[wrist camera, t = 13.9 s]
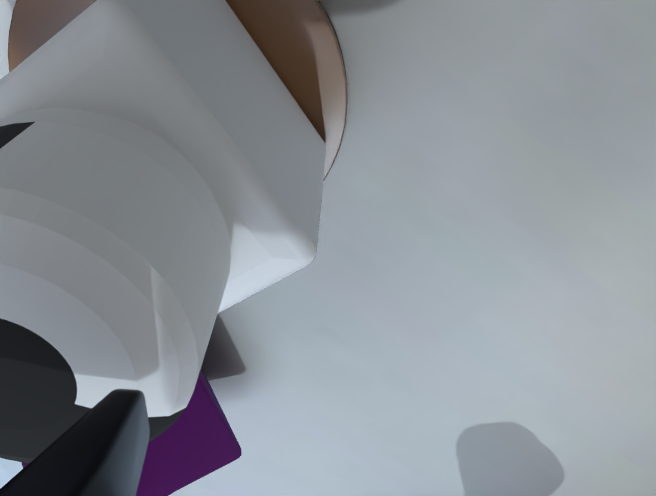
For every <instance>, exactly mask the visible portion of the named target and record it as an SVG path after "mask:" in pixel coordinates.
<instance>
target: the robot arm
mask: <svg viewBox="0 0 656 496" xmlns="http://www.w3.org/2000/svg"><path fill="white" fill-rule="evenodd" d="M149 435H150V427H149V420H148V414H147V407H146V401H145V396H144V394H143V392H142V391H140V390H133V389H115V390H113V391H111V392H110V393H109V394H108V395H106V396H105V397H104V398H103V399H102V400H101V401H100V402H98V403H97V404H96V405H95V406H94V407H93V408H92V409H91V410H89V411H88V412H87V413H86V414H85V415H84V416H83V417H81V418H80V419H79V420H78V421H77V422H76V423H75V424H74V425H72V426H71V427H70V428H69V429H68V430H67V431H66V432H64V433H63V434H62V435H61V436H60V437H59V438H58V439H56V440H55V441H54V442H53V443H52V444H51V445H50V446H49V447H47V448H46V449H45V450H44V451H43V452H42V453H41V454H39V455H38V456H37V457H36V458H35V459H34V460H33V461H32V462H30V463H29V464H28V465H27V466H26V467H25V468H24V469H22V470H21V471H20V472H19V473H18V474H17V475H16V476H15V477H13V478H12V479H11V480H10V481H9V482H8V483H7V484H5V485H4V486H3V487H2V488H1V489H0V496H136V492H137V488H138V484H139V480H140V476H141V472H142V468H143V463H144V459H145V455H146V451H147V447H148V442H149Z"/></svg>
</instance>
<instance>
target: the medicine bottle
mask: <svg viewBox="0 0 656 496" xmlns="http://www.w3.org/2000/svg"><path fill="white" fill-rule="evenodd" d="M325 156H326V145H325V143H324V141H323V140H322V138H321V137H320V135H319V134H318V132H317V131H316V130H315V128H314V127H313V125H312V124H311V122H310V121H309V119H308V118H307V117H306V115H305V114H304V112H303V111H302V109H301V108H300V107H299V105H298V104H297V102H296V101H295V99H294V98H293V97H292V95H291V94H290V92H289V91H288V89H287V88H286V86H285V85H284V84H283V82H282V81H281V79H280V78H279V76H278V75H277V74H276V72H275V71H274V69H273V68H272V66H271V65H270V64H269V62H268V61H267V59H266V58H265V56H264V55H263V54H262V52H261V51H260V49H259V48H258V46H257V45H256V43H255V42H254V41H253V39H252V38H251V36H250V35H249V33H248V32H247V31H246V29H245V28H244V26H243V25H242V23H241V22H240V21H239V19H238V18H237V16H236V15H235V13H234V12H233V10H232V9H231V8H230V6H229V5H228V3H227V2H226V0H97V1H95V2H94V3H93V4H92V5H91V6H89V7H88V8H87V9H86V10H85V11H83V12H82V13H81V14H80V15H78V16H77V17H76V18H75V19H74V20H72V21H71V22H70V23H69V24H68V25H66V26H65V27H64V28H63V29H62V30H60V31H59V32H58V33H57V34H56V35H54V36H53V37H52V38H51V39H49V40H48V41H47V42H46V43H45V44H43V45H42V46H41V47H40V48H39V49H37V50H36V51H35V52H34V53H33V54H31V55H30V56H29V57H28V58H26V59H25V60H24V61H23V62H22V63H20V64H19V65H18V66H17V67H16V68H14V69H13V70H12V71H11V72H10V73H8V74H7V75H6V76H5V77H3V78H2V79H1V80H0V458H4V459H8V460H14V461H19V462H24V463H30V462H32V461H33V460H34V459H35V458H36V457H37V456H38V455H39V454H41V453H42V452H43V451H44V450H45V449H46V448H47V447H49V446H50V445H51V444H52V443H53V442H54V441H55V440H56V439H58V438H59V437H60V436H61V435H62V434H63V433H64V432H66V431H67V430H68V429H69V428H70V427H71V426H72V425H74V424H75V423H76V422H77V421H78V420H79V419H80V418H81V417H83V416H84V415H85V414H86V413H87V412H88V411H89V410H91V409H92V408H93V407H94V406H95V405H96V404H97V403H98V402H100V401H101V400H102V399H103V398H104V397H105V396H106V395H108V394H109V393H110V392H111V391H113V390H115V389H133V390H140V391H142V392H143V394H144V396H145V401H146V407H147V414H148V420H149V427H150V435H149V442H150V441H151V440H153V439H154V438H156V437H157V436H159V435H160V434H162V433H163V432H165V431H166V430H167V429H168V428H169V427H170V426H171V425H172V424H173V423H174V422H175V421H177V419H178V418H179V417H180V415H181V414H182V412H183V411H184V410H185V408H186V407H187V405H188V403H189V401H190V398H191V396H192V394H193V392H194V389H195V385H196V382H197V379H198V376H199V372H200V369H201V366H202V363H203V359H204V356H205V353H206V350H207V346H208V343H209V340H210V337H211V333H212V330H213V327H214V324H215V320H216V317H217V314H218V313H220V312H222V311H224V310H225V309H227V308H229V307H231V306H233V305H235V304H237V303H239V302H240V301H242V300H244V299H246V298H248V297H250V296H252V295H253V294H255V293H257V292H259V291H261V290H263V289H265V288H266V287H268V286H270V285H272V284H274V283H276V282H278V281H280V280H281V279H283V278H285V277H287V276H289V275H291V274H293V273H294V272H296V271H298V270H300V269H302V268H304V267H306V266H308V265H309V264H310V263H311V262H312V261H313V260H314V258H315V256H316V251H317V242H318V231H319V220H320V210H321V199H322V188H323V177H324V167H325Z"/></svg>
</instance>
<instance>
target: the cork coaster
mask: <svg viewBox="0 0 656 496" xmlns="http://www.w3.org/2000/svg"><path fill="white" fill-rule="evenodd" d="M95 1H97V0H17V1H16V4H15V7H14V10H13V14H12V19H11V25H10V30H9V43H8V61H9V72H11V71H12V70H13V69H14V68H16V67H17V66H18V65H19V64H20V63H22V62H23V61H24V60H25V59H26V58H28V57H29V56H30V55H31V54H33V53H34V52H35V51H36V50H37V49H39V48H40V47H41V46H42V45H43V44H45V43H46V42H47V41H48V40H49V39H51V38H52V37H53V36H54V35H56V34H57V33H58V32H59V31H60V30H62V29H63V28H64V27H65V26H66V25H68V24H69V23H70V22H71V21H72V20H74V19H75V18H76V17H77V16H78V15H80V14H81V13H82V12H83V11H85V10H86V9H87V8H88V7H89V6H91V5H92V4H93V3H94V2H95ZM226 2H227V3H228V5H229V6H230V8H231V9H232V10H233V12H234V13H235V15H236V16H237V18H238V19H239V21H240V22H241V23H242V25H243V26H244V28H245V29H246V31H247V32H248V33H249V35H250V36H251V38H252V39H253V41H254V42H255V43H256V45H257V46H258V48H259V49H260V51H261V52H262V54H263V55H264V56H265V58H266V59H267V61H268V62H269V64H270V65H271V66H272V68H273V69H274V71H275V72H276V74H277V75H278V76H279V78H280V79H281V81H282V82H283V84H284V85H285V86H286V88H287V89H288V91H289V92H290V94H291V95H292V97H293V98H294V99H295V101H296V102H297V104H298V105H299V107H300V108H301V109H302V111H303V112H304V114H305V115H306V117H307V118H308V119H309V121H310V122H311V124H312V125H313V127H314V128H315V130H316V131H317V132H318V134H319V135H320V137H321V138H322V140H323V141H324V143H325V145H326V156H325V167H324V177H323V181H324V180H325V178H326V176H327V174H328V172H329V171H330V169H331V167H332V165H333V163H334V161H335V158H336V156H337V153H338V150H339V148H340V145H341V141H342V137H343V133H344V128H345V122H346V111H347V83H346V74H345V69H344V63H343V57H342V54H341V51H340V48H339V44H338V41H337V38H336V35H335V32H334V30H333V28H332V26H331V24H330V22H329V19H328V17H327V15H326V13H325V11H324V9H323V8H322V6H321V5H320V3H319V1H318V0H226Z"/></svg>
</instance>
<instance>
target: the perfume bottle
mask: <svg viewBox="0 0 656 496" xmlns="http://www.w3.org/2000/svg"><path fill="white" fill-rule="evenodd" d="M240 456H241V447H240V445H239V443H238V441H237V439H236V437H235V435H234V433H233V431H232V429H231V427H230V425H229V423H228V421H227V419H226V417H225V415H224V413H223V411H222V409H221V407H220V405H219V403H218V400H217V398H216V396H215V394H214V392H213V390H212V388H211V386H210V384H209V382H208V380H207V378H206V376H205V374H204V373H203V371H202V369H200V372H199V376H198V379H197V382H196V385H195V389H194V392H193V394H192V396H191V398H190V401H189V403H188V405H187V407H186V408H185V410H184V411H183V412H182V414H181V415H180V417H179V418H178V419H177V421H175V422H174V423H173V424H172V425H171V426H170V427H169V428H168V429H167V430H166V431H165V432H163V433H162V434H160V435H159V436H157V437H156V438H154V439H153V440H151V441H150V442H148V447H147V451H146V455H145V459H144V463H143V468H142V472H141V476H140V480H139V484H138V488H137V492H136V496H168V495H170V494H172V493H173V492H175V491H177V490H179V489H181V488H182V487H184V486H186V485H188V484H190V483H192V482H194V481H196V480H198V479H200V478H202V477H204V476H206V475H207V474H209V473H211V472H213V471H215V470H217V469H219V468H221V467H223V466H225V465H227V464H229V463H231V462H232V461H234V460H236V459H238V458H239V457H240ZM28 464H29V463H24V462H22V466H23V469H24V468H25V467H26V466H27V465H28Z"/></svg>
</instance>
